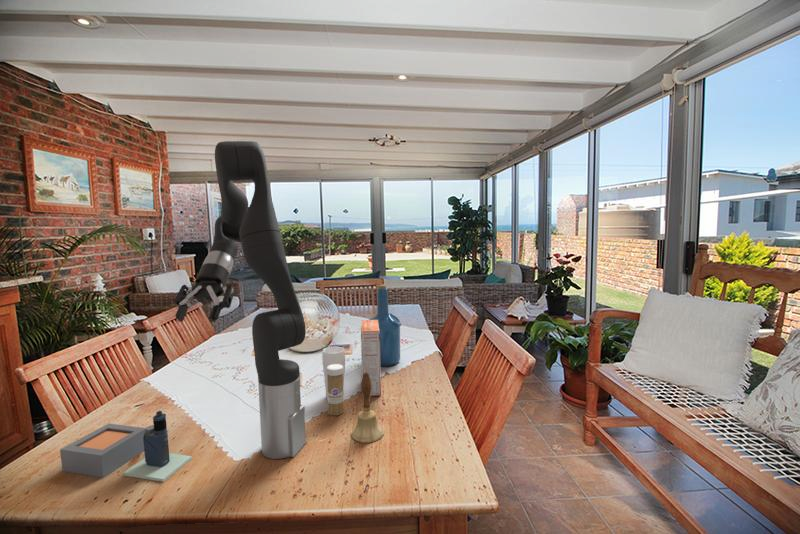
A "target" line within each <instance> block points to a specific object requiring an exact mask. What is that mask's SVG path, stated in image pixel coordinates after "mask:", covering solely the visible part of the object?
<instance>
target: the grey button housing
mask: <svg viewBox="0 0 800 534" xmlns="http://www.w3.org/2000/svg"><path fill="white" fill-rule="evenodd" d="M145 428H146V427H139V426H131V425H125V424H123V425H122V424H115V423H107V424H105V425H104V426H101V427H100V428H98V429H96V430H93V431H92V432H90V433H88V434H86V435H84V436H82V437H81V438H79V439H77V440H75V441H74V442H73V441H72V442H71V443H70V444H67V445H66V446H63V447H62V448H60V449H59V452H60V460H61V471H62V472H65V473H71V474H72V473H73V474H77V475H84V476H89V477H90V476H91V477H97V478H105V477H107V476H108V475H110V474H111V473H113V472H114V471H116V470H117V469H119V468H121V467H122V466H123V465H125V464H126V463H128V462H129V461H132V459H134V458H136V457H137V456H139V455H140V454H142V453H143V452H144V441H143V436H144V433H145ZM106 431H115V432H122V433H130V434H129V435H127V436H125V437H124V438H122V439H120V440H119V441H117V442H115V443H113V444H112V445H110V446H108V447H107V448H105V449H103V450H100V449H93V448H86V447H79V446H81V445H82V444H84V443H86V442H88V441H90V440H92V439H93V438H95V437H97V436H99V435H101V434H102V433H104V432H106Z"/></svg>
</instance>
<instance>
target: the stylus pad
mask: <svg viewBox="0 0 800 534" xmlns="http://www.w3.org/2000/svg"><path fill="white" fill-rule="evenodd" d="M169 459H170V461H169V463H168V464H166V465H165V466H163V467H156V466H149V465H147V462H145V457H144V458H143V459H141V460H140V461H139V462H137V463H136V464H134V465H132V466H131V467H129V468H128V469H127V470H125V471H124V472H123V476H124V477H130V478H131V477H132V478H137V479H144V480H150V481H154V482H155V481H156V482H163V483H164V482H165V481H166V480H168V479H169V478H170V477H171V476H173V475H174V474H175V473H177V472H178V471H179V470H180V469H182V468H183V467H184V466H185V465H186V464H187V463H189V462H190V461H191V460H193V456H191V455H187V454H186V455H185V454H180V453H179V454H178V453H172V452H171V453H170V452H169Z"/></svg>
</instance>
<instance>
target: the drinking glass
mask: <svg viewBox="0 0 800 534" xmlns="http://www.w3.org/2000/svg"><path fill="white" fill-rule="evenodd" d="M321 354H322V355H321V356H322V371H323V377H324V386H325V397H326V399H328V376H327V367H328V366H329V365H332V364H340V365H342V366H343V396H344V391H345V389H344V388H345V387H344V386H345V371H346V370H345V369H346V351H345V348H344V347H343V346H342V347H341V346H328V347H325V348H323V349H322V353H321Z"/></svg>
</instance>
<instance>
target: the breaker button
mask: <svg viewBox="0 0 800 534" xmlns="http://www.w3.org/2000/svg"><path fill="white" fill-rule="evenodd" d="M129 434H130V433H122V432H115V431H106V432H104V433H102V434H101V435H99V436H97V437H95V438H93V439H92V440H90V441H88V442H86V443H84V444H82V445H81V446H79V447H86V448H93V449H100V450H103V449H105V448H107V447H108V446H110V445H112V444H113V443H115V442H117V441H119V440H120V439H122V438H124V437H125V436H127V435H129Z"/></svg>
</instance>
